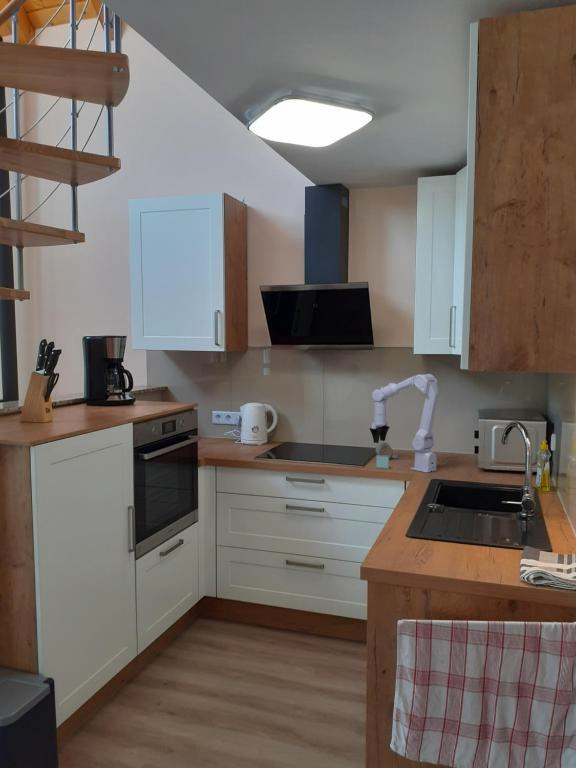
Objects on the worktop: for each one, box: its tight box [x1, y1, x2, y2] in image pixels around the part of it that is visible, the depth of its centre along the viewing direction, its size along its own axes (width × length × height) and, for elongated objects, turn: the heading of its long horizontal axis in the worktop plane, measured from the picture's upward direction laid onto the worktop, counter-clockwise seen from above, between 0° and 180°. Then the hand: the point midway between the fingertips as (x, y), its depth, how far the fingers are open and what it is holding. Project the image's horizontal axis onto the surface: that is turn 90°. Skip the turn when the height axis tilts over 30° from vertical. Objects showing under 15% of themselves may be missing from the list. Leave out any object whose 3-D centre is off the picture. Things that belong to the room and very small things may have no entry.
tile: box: [375, 454, 390, 470], centre depth 280 cm, size 2×6×6 cm, turn 81°
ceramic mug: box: [375, 441, 399, 460], centre depth 304 cm, size 11×8×8 cm
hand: (379, 441), depth 293 cm, fingers open, 7 cm apart
